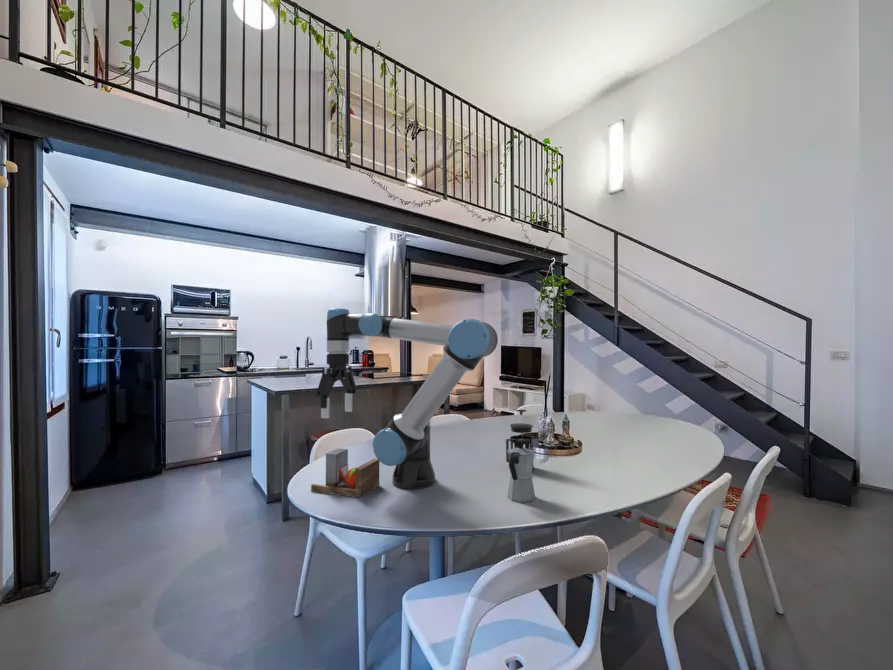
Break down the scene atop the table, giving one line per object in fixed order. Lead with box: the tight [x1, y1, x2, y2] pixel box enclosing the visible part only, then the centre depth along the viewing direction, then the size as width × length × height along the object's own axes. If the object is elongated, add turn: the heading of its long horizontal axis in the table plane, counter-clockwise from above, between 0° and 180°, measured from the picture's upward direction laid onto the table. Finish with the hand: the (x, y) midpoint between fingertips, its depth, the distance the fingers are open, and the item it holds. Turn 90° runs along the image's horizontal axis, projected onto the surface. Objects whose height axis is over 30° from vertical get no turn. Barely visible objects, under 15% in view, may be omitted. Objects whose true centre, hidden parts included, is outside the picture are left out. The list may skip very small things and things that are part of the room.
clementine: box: [345, 467, 357, 489], centre depth 129 cm, size 8×7×7 cm
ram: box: [325, 447, 349, 488], centre depth 131 cm, size 5×7×12 cm, turn 161°
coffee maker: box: [506, 439, 536, 504], centre depth 120 cm, size 15×9×18 cm, turn 149°
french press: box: [505, 409, 535, 472], centre depth 151 cm, size 12×9×23 cm
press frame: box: [310, 458, 380, 498], centre depth 130 cm, size 19×12×9 cm, turn 71°
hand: (337, 414), depth 132 cm, fingers open, 13 cm apart
